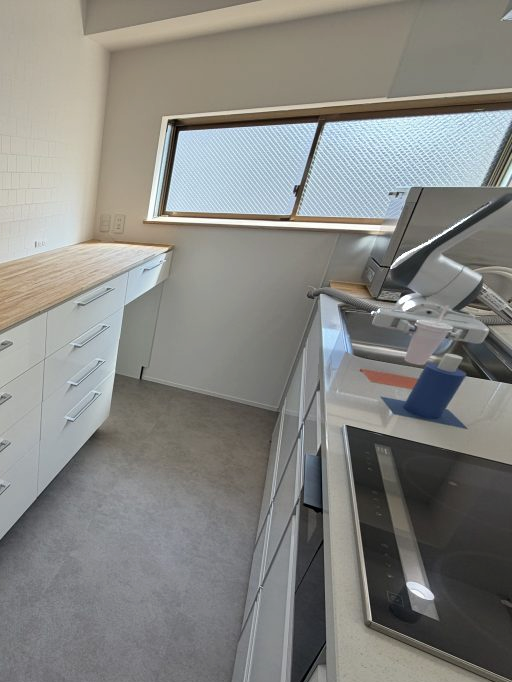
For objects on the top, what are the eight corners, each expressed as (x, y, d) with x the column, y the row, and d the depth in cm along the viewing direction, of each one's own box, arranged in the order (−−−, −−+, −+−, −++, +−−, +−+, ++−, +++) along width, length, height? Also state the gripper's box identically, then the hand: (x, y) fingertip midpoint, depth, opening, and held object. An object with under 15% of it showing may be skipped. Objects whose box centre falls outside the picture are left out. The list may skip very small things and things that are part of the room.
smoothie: (439, 367, 97) (472, 310, 91) (412, 366, 97) (443, 309, 91) (415, 357, 103) (445, 302, 96) (390, 356, 103) (418, 301, 96)
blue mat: (446, 411, 90) (448, 409, 90) (467, 431, 83) (468, 429, 83) (379, 398, 94) (380, 396, 94) (392, 415, 87) (393, 413, 87)
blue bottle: (433, 408, 90) (466, 353, 84) (445, 421, 85) (481, 364, 79) (398, 402, 92) (428, 348, 86) (409, 414, 87) (441, 357, 81)
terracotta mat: (422, 381, 104) (423, 379, 104) (437, 395, 97) (438, 393, 97) (359, 370, 109) (360, 368, 109) (369, 383, 102) (370, 381, 101)
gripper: (375, 299, 110) (381, 310, 99) (483, 315, 99) (501, 330, 89) (365, 322, 112) (369, 335, 102) (468, 340, 102) (484, 356, 92)
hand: (431, 333), depth 96 cm, fingers closed on smoothie, 6 cm apart
